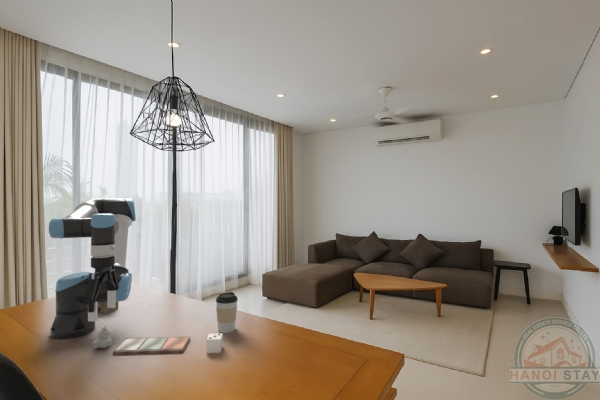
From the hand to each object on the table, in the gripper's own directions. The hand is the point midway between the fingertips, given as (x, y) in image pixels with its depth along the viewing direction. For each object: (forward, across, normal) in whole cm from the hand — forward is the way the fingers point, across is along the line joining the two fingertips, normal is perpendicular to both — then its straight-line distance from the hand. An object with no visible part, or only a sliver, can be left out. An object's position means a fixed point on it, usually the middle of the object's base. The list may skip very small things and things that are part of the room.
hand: (102, 314), depth 119 cm
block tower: (+13, +46, +27) cm, 54 cm away
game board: (+13, 0, -18) cm, 22 cm away
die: (+13, -4, -41) cm, 43 cm away
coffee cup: (+13, +14, -43) cm, 47 cm away
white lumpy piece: (+13, 0, 0) cm, 13 cm away
